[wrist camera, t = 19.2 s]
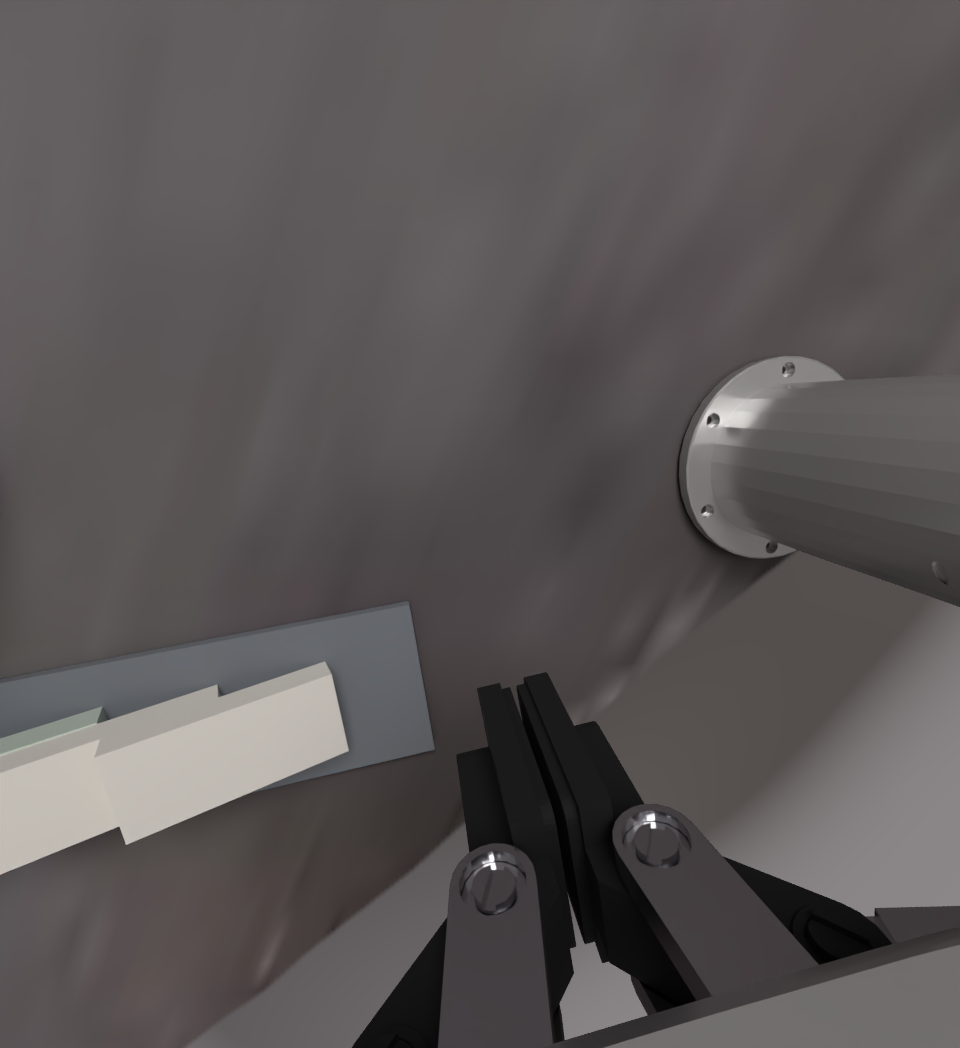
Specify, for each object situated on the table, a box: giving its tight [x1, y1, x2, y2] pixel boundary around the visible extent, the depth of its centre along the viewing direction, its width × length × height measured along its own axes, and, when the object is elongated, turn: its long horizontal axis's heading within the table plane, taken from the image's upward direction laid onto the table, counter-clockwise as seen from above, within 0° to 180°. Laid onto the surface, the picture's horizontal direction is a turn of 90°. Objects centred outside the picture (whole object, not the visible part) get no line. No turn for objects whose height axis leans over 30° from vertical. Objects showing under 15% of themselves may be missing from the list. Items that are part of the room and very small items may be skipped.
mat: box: [0, 601, 435, 793], centre depth 29 cm, size 32×10×1 cm, turn 98°
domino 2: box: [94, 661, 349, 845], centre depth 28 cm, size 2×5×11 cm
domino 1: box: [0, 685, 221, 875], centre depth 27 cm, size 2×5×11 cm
